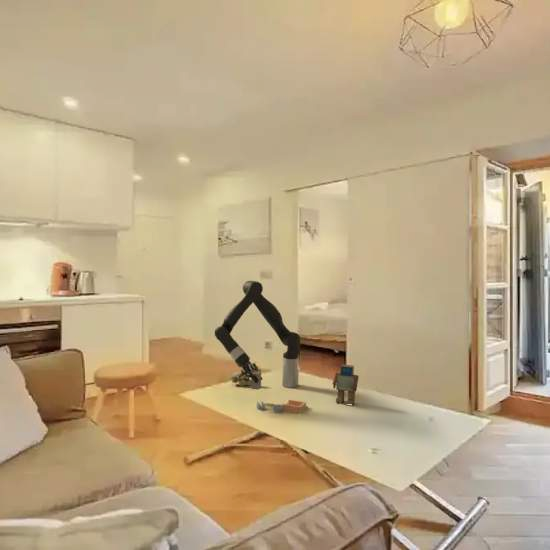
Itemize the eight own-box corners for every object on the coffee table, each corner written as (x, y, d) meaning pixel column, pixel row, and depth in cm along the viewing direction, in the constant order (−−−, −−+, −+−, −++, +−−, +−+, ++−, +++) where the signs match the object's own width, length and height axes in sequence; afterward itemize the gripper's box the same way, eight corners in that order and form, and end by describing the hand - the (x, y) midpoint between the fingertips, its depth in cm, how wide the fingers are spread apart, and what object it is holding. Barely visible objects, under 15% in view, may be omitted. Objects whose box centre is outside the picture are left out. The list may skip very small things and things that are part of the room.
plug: (254, 386, 231) (254, 365, 231) (261, 387, 230) (261, 366, 229) (250, 388, 227) (251, 367, 227) (257, 389, 226) (258, 368, 225)
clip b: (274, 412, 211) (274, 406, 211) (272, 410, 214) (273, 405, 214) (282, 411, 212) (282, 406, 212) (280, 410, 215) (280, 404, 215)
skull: (258, 384, 255) (254, 368, 255) (233, 391, 255) (228, 375, 256) (259, 381, 265) (255, 365, 265) (235, 387, 265) (231, 371, 265)
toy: (331, 404, 228) (332, 366, 227) (336, 399, 236) (337, 363, 236) (355, 407, 223) (356, 369, 223) (358, 402, 232) (359, 366, 232)
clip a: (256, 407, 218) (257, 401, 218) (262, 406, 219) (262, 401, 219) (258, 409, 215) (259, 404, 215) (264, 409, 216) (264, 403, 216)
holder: (279, 410, 215) (279, 404, 215) (287, 404, 225) (287, 399, 225) (300, 413, 211) (300, 408, 211) (307, 407, 221) (307, 401, 221)
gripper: (238, 354, 224) (258, 380, 220) (249, 349, 237) (269, 373, 233) (229, 363, 226) (249, 388, 222) (241, 358, 240) (260, 382, 235)
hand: (259, 381), depth 228 cm, fingers closed on plug, 4 cm apart
